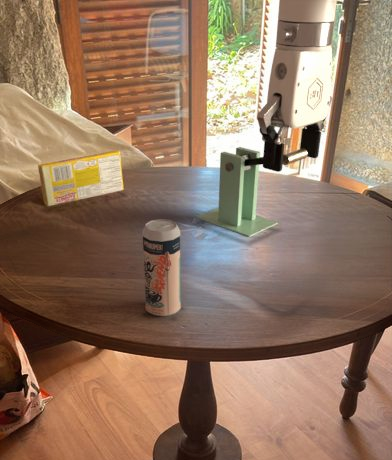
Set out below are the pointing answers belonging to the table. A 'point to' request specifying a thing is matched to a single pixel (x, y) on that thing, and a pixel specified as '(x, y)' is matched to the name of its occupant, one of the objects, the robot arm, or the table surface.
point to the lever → (287, 158)
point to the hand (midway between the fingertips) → (290, 162)
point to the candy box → (81, 177)
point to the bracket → (238, 196)
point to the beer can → (162, 267)
